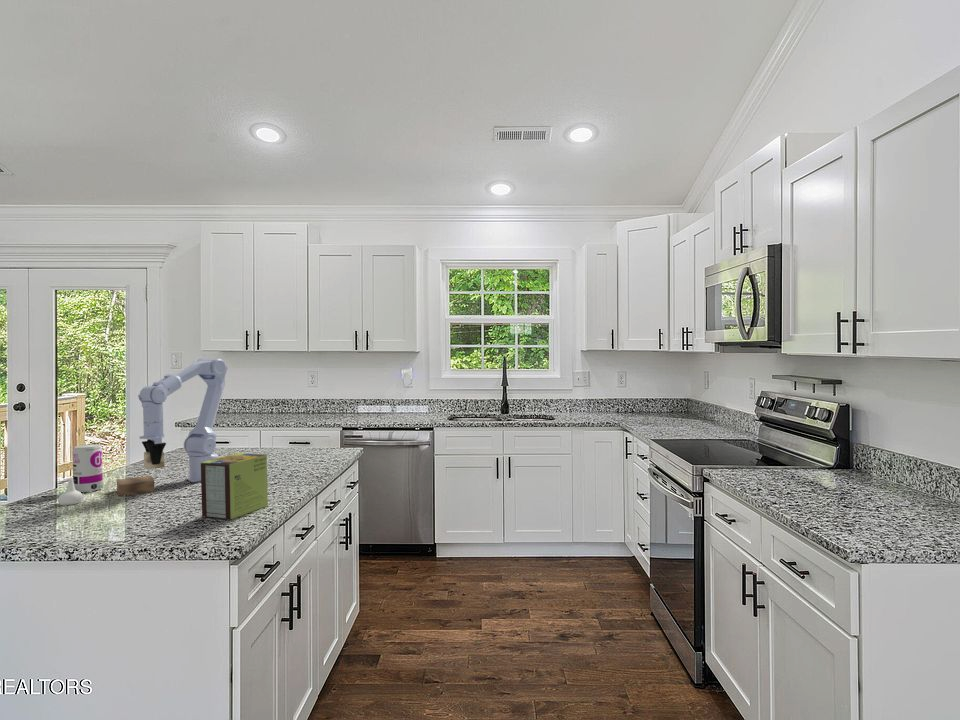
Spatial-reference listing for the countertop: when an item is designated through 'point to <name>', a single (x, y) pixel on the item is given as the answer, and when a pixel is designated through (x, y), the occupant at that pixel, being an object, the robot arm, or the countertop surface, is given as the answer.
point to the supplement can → (87, 468)
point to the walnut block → (135, 485)
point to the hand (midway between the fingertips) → (154, 463)
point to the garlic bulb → (70, 495)
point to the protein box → (234, 485)
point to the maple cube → (149, 464)
